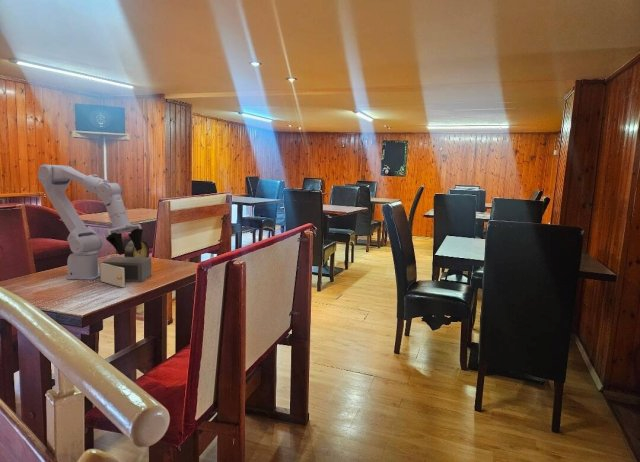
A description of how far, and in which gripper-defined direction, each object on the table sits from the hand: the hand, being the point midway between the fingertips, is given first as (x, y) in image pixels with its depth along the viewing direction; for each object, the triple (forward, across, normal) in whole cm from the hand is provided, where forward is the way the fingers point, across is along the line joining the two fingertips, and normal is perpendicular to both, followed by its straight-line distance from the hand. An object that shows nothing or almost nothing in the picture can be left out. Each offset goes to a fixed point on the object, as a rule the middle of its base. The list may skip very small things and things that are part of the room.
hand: (131, 252), depth 149 cm
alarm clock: (+5, +17, +20) cm, 27 cm away
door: (+8, -5, +8) cm, 13 cm away
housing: (+8, +4, +11) cm, 14 cm away
